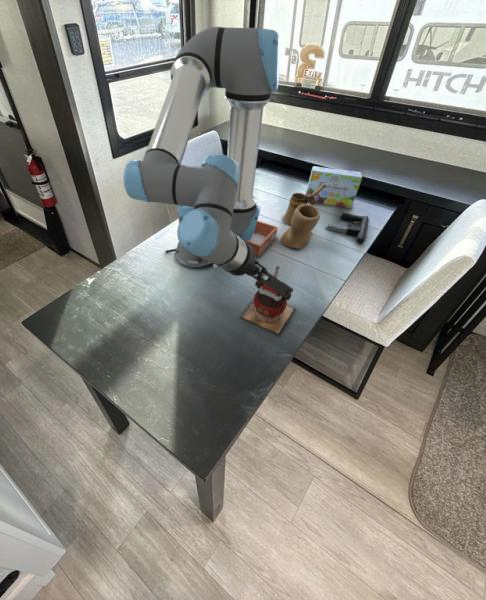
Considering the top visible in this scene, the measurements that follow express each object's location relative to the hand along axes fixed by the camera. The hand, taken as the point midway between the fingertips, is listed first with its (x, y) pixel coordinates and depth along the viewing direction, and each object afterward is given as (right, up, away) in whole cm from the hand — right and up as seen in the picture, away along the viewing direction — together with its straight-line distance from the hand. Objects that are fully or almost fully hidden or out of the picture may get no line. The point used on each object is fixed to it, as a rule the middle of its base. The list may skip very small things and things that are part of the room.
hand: (270, 279), depth 85 cm
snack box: (+40, +40, +63) cm, 85 cm away
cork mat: (+2, -10, +12) cm, 15 cm away
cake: (+2, -9, +12) cm, 15 cm away
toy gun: (+42, +24, +47) cm, 67 cm away
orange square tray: (+1, +18, +39) cm, 43 cm away
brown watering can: (+22, +28, +51) cm, 62 cm away
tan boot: (+19, +18, +40) cm, 48 cm away
